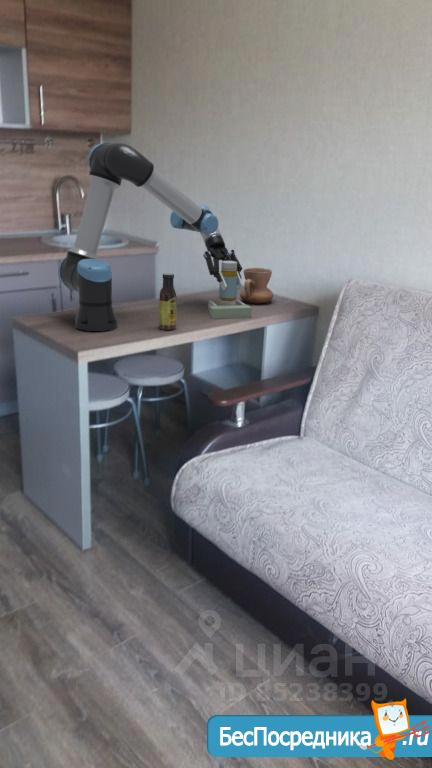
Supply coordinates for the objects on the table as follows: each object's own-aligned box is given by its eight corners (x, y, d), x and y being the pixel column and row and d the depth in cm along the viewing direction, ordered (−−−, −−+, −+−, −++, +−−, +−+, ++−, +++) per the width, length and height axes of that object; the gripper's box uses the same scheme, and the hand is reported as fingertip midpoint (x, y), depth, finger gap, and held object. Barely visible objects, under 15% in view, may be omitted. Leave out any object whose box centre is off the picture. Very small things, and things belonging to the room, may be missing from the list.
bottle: (217, 297, 246) (219, 260, 241) (234, 297, 247) (236, 260, 242) (220, 301, 240) (222, 263, 234) (238, 301, 241) (239, 263, 236)
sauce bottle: (173, 331, 217) (174, 276, 210) (156, 329, 218) (156, 274, 211) (178, 326, 223) (179, 273, 216) (161, 325, 224) (162, 271, 217)
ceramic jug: (253, 296, 276) (254, 265, 271) (280, 301, 268) (282, 269, 263) (230, 303, 263) (231, 270, 257) (258, 308, 255) (259, 275, 249)
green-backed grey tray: (212, 318, 235) (212, 308, 234) (203, 310, 247) (203, 300, 245) (251, 317, 239) (251, 307, 238) (240, 309, 251) (241, 299, 250)
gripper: (230, 244, 254) (249, 290, 247) (188, 246, 244) (207, 294, 237) (237, 233, 248) (257, 280, 241) (195, 235, 238) (215, 284, 231)
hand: (233, 287), depth 239 cm, fingers closed on bottle, 7 cm apart
